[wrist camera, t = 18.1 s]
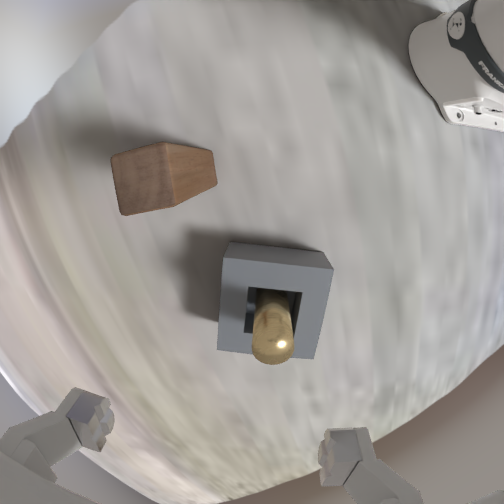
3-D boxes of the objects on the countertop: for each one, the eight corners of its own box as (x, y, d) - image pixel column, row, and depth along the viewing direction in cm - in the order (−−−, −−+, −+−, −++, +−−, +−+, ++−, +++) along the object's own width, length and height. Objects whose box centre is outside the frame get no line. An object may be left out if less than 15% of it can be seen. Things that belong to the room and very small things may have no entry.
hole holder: (323, 252, 39) (333, 269, 32) (307, 332, 42) (313, 359, 36) (230, 241, 39) (223, 257, 33) (223, 323, 42) (216, 349, 36)
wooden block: (151, 197, 38) (71, 228, 20) (145, 164, 36) (60, 171, 19) (218, 185, 37) (177, 206, 20) (212, 149, 36) (166, 140, 18)
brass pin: (289, 282, 38) (297, 332, 27) (284, 310, 40) (290, 366, 28) (257, 278, 38) (254, 327, 27) (254, 307, 40) (249, 362, 28)
